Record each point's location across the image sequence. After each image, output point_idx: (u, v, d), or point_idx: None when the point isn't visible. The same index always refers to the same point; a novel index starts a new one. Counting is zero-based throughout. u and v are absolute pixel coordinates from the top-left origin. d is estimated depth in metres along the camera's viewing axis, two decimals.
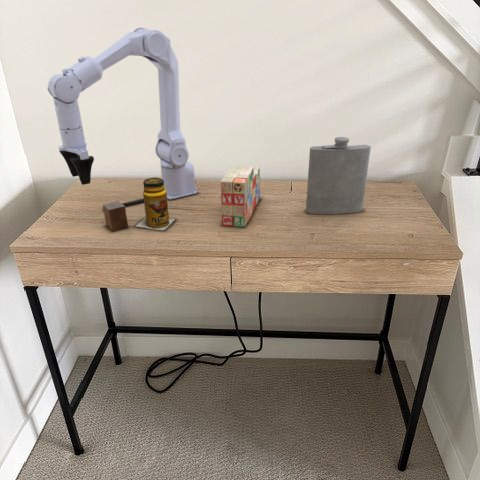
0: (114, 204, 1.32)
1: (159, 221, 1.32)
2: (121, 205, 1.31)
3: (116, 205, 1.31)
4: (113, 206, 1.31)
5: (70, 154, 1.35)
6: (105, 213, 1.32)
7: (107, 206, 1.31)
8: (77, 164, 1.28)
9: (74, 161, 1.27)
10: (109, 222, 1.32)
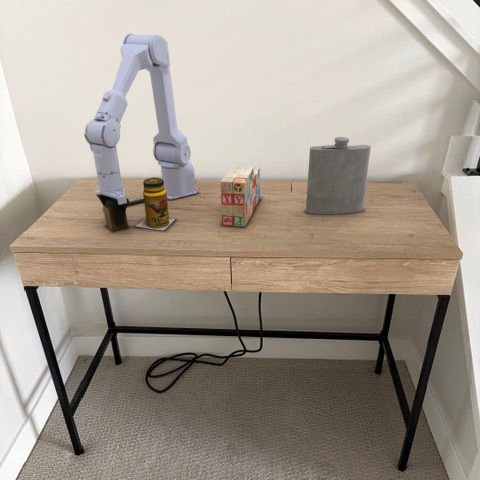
0: None
1: (159, 221, 1.32)
2: None
3: None
4: None
5: (108, 197, 1.32)
6: (105, 213, 1.32)
7: (107, 206, 1.31)
8: (113, 207, 1.27)
9: (110, 204, 1.26)
10: (109, 222, 1.32)
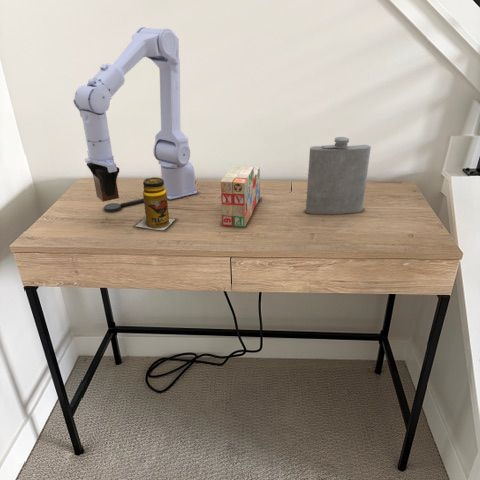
0: None
1: (159, 221, 1.32)
2: None
3: None
4: None
5: (98, 167, 1.31)
6: (95, 183, 1.31)
7: (97, 176, 1.29)
8: (103, 175, 1.25)
9: (100, 172, 1.25)
10: (99, 192, 1.30)
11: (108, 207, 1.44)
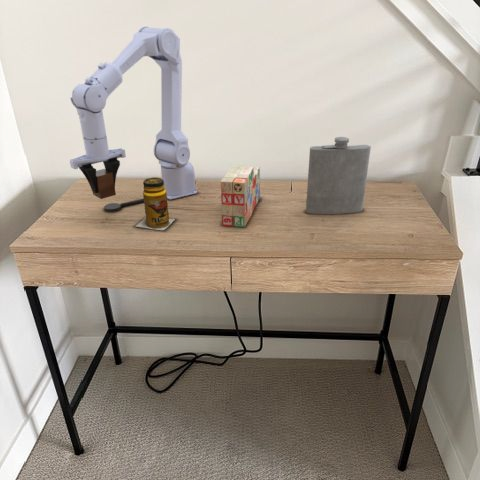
0: (102, 172, 1.31)
1: (159, 221, 1.32)
2: (99, 175, 1.30)
3: (100, 173, 1.31)
4: (98, 172, 1.31)
5: (108, 165, 1.32)
6: None
7: (98, 170, 1.33)
8: (80, 169, 1.29)
9: None
10: None
11: (108, 207, 1.44)
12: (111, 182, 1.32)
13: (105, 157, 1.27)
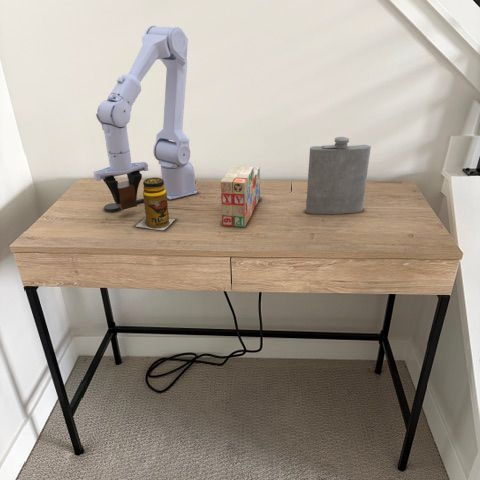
0: (125, 184, 1.36)
1: (159, 221, 1.32)
2: (121, 187, 1.35)
3: (123, 185, 1.36)
4: (120, 184, 1.36)
5: (130, 177, 1.37)
6: None
7: (121, 182, 1.38)
8: (104, 181, 1.35)
9: None
10: None
11: (108, 207, 1.44)
12: (132, 194, 1.37)
13: (127, 170, 1.32)
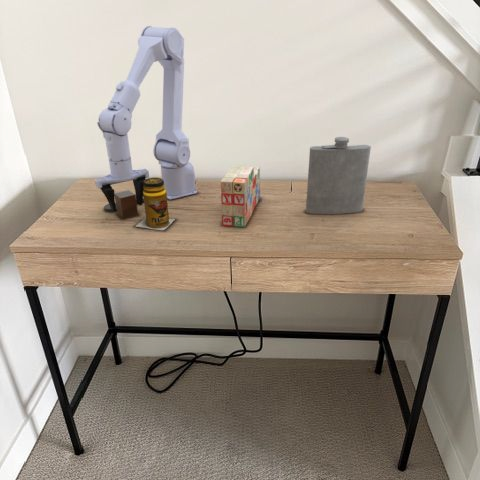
0: (126, 194, 1.38)
1: (159, 221, 1.32)
2: (122, 196, 1.36)
3: (124, 194, 1.37)
4: (122, 194, 1.38)
5: (136, 183, 1.39)
6: None
7: (122, 192, 1.39)
8: None
9: None
10: None
11: (108, 207, 1.44)
12: (134, 203, 1.38)
13: (128, 178, 1.33)
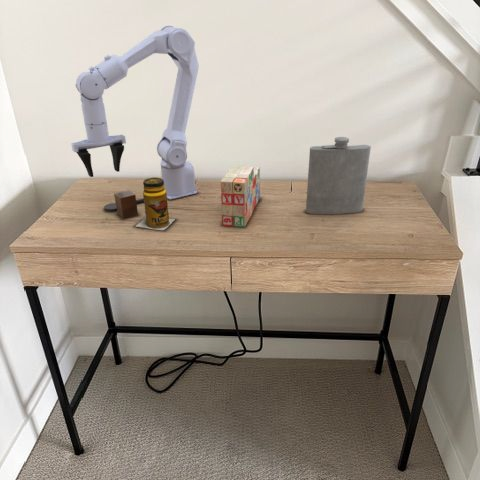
0: (126, 194, 1.38)
1: (159, 221, 1.32)
2: (122, 196, 1.36)
3: (124, 194, 1.37)
4: (122, 194, 1.38)
5: (113, 149, 1.41)
6: None
7: (122, 192, 1.39)
8: None
9: None
10: None
11: (108, 207, 1.44)
12: (134, 203, 1.38)
13: (104, 142, 1.35)
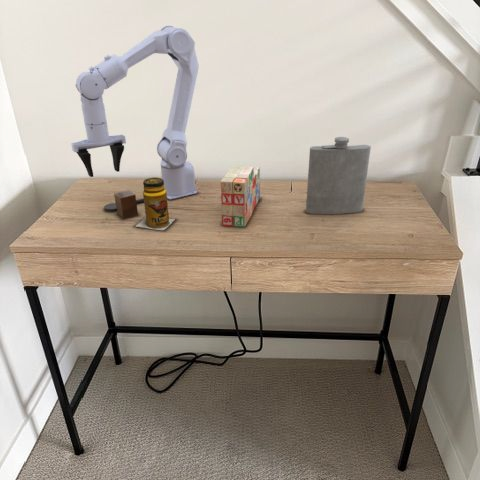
0: (126, 194, 1.38)
1: (159, 221, 1.32)
2: (122, 196, 1.36)
3: (124, 194, 1.37)
4: (122, 194, 1.38)
5: (113, 149, 1.41)
6: None
7: (122, 192, 1.39)
8: None
9: None
10: None
11: (108, 207, 1.44)
12: (134, 203, 1.38)
13: (104, 142, 1.35)
